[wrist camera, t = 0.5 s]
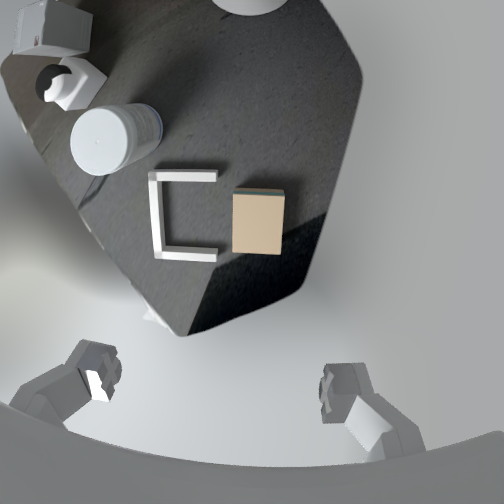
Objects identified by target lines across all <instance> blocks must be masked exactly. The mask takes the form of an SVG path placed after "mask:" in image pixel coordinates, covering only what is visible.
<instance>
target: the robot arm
mask: <svg viewBox="0 0 504 504" xmlns="http://www.w3.org/2000/svg"><path fill="white" fill-rule="evenodd" d="M212 1H213V2H214V3H215V4H216V5H218V6H219V7H220V8H222V9H224V10H226V11H228V12H231V13H234V14H239V15H260V14H265V13H268V12H271V11H273V10H275V9H277V8H279V7H280V6H282V5H283V4H284V3H285V2H286V1H287V0H212ZM116 355H117V350H116V347H115V346H112V345H107V344H103V343H98V342H93V341H88V340H84V339H83V340H81V341H79V343H78V345H77V346H76V347H75V349H74V350H73V352H72V353H71V355H70V357H69V358H68V360H67V361H66V363H65V365H63V364H61V365H59V366H57V367H55V368H53V369H51V370H50V371H48V372H46V373H44V374H42V375H40V376H38V377H37V378H35V379H33V380H31V381H29V382H27V383H25V384H23V385H22V386H20V388H19V390H18V391H17V393H16V394H15V396H14V397H13V399H12V401H11V402H10V404H9V405H6V404H4V403H2V402H0V504H504V433H503V432H502V431H493V432H490V433H487V434H484V435H482V436H479V437H475V438H472V439H469V440H466V441H463V442H460V443H456V444H452V445H449V446H445V447H442V448H438V449H434V450H430V451H426V449H425V446H424V443H423V440H422V437H421V434H420V431H419V428H418V426H417V425H416V424H414V423H413V422H412V421H411V420H409V419H408V418H407V417H406V416H404V415H403V414H402V413H401V412H400V411H398V410H397V409H396V408H395V407H394V406H392V405H391V404H390V403H389V402H387V401H386V400H385V399H384V398H383V397H381V396H380V395H379V394H375V393H374V390H373V387H372V384H371V381H370V378H369V375H368V371H367V369H366V365H365V364H364V363H338V364H326V365H325V367H324V370H323V372H324V377H322V378H321V381H320V384H319V399H320V402H321V403H322V404H323V405H322V409H321V414H322V421H323V423H324V424H325V423H344V425H345V426H346V427H347V428H348V429H349V431H350V432H351V433H352V434H353V435H354V436H355V438H356V439H357V440H358V441H359V442H360V443H361V444H362V446H363V447H364V448H365V449H366V450H367V452H368V454H367V455H366V457H365V458H364V459H363V461H362V462H361V463H354V464H344V465H332V466H315V467H252V466H236V465H224V464H213V463H204V462H197V461H190V460H183V459H176V458H171V457H165V456H160V455H154V454H150V453H145V452H141V451H136V450H132V449H128V448H123V447H120V446H116V445H112V444H109V443H105V442H102V441H98V440H95V439H92V438H88V437H85V436H82V435H79V434H76V433H73V432H70V431H68V429H67V428H66V426H65V425H64V424H63V421H65V420H66V419H67V418H69V417H70V416H71V415H72V414H74V413H75V412H76V411H78V410H79V409H80V408H81V407H83V406H84V405H85V404H86V403H88V402H89V401H90V400H91V399H92V398H93V399H97V400H102V401H106V402H110V400H111V398H112V396H113V393H114V391H115V389H114V386H113V385H115V384H116V383H118V382H119V380H120V377H121V372H122V369H121V368H122V367H121V362H120V360H118V358H117V357H116Z"/></svg>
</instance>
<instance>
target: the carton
mask: <svg viewBox="0 0 504 504" xmlns="http://www.w3.org/2000/svg"><path fill="white" fill-rule="evenodd" d="M284 200H285V194H284V191H283V190H278V189H258V188H235V191H234V192H233V252H240V253H261V254H280V253H281V240H282V227H283V214H284Z"/></svg>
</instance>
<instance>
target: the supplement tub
mask: <svg viewBox="0 0 504 504" xmlns="http://www.w3.org/2000/svg"><path fill="white" fill-rule="evenodd" d="M162 133H163V125H162V120H161V118H160V116H159V114H158V113H157V111H156V110H155V109H153V108H152V107H150V106H148V105H146V104H141V103H134V104H119V105H107V106H100V107H97V108H94V109H91V110H89V111H87V112H85V113H84V114H83V115H82V116H81V117H80V118H79V119H78V120H77V122H76V123H75V125H74V127H73V130H72V134H71V151H72V154H73V157H74V159H75V161H76V163H77V164H78V165H79V166H80V167H81V168H82V169H83V170H84V171H86V172H87V173H90V174H92V175H106V174H109V173H113V172H115V171H117V170H119V169H121V168H123V167H125V166H127V165H128V164H130V163H132V162H134V161H136V160H138V159H140V158H142V157H144V156H146V155H148V154H150V153H151V152H153V151H154V150H155V149H156V148H157V146H158V145H159V143H160V141H161V138H162Z"/></svg>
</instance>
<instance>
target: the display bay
mask: <svg viewBox="0 0 504 504" xmlns="http://www.w3.org/2000/svg"><path fill="white" fill-rule="evenodd" d="M217 179H218V170H210V169H153V170H151V171H150V172H148V180H149V197H150V211H151V223H152V234H153V245H154V254H155V258H157V259H173V260H190V261H206V262H216V261H217V258H218V248H201V247H182V246H166V243H165V230H164V216H163V200H162V181H207V182H216V181H217Z"/></svg>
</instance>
